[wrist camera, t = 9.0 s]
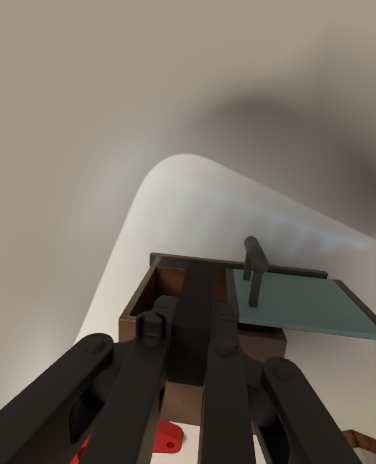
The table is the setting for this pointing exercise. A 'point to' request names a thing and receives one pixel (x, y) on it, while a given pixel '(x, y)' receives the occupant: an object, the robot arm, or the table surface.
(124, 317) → the cabinet
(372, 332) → the glass door
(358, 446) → the mug
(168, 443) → the lever
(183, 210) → the table surface
